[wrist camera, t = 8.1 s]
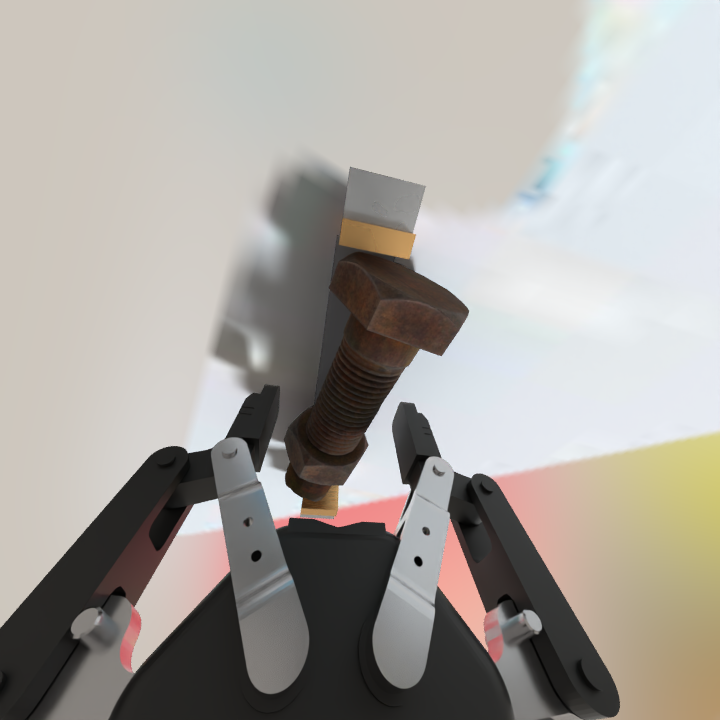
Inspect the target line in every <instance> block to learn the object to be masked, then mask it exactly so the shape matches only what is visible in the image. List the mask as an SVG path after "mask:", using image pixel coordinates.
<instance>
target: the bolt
mask: <svg viewBox="0 0 720 720" xmlns="http://www.w3.org/2000/svg"><path fill="white" fill-rule="evenodd" d="M329 289H330V290H331V292H332V293H333V294H334V295H335V296H336V297H337V298H338V299H339V300H340V301H341V302H342V303H343V305H344V306H345V307H346V308H347V309H348V310H349V311H350V312H351V314H350V316H349V319H348V321H347V324H346V326H345V328H344V332H343V333H344V336H343V339H342V341H341V345H340V346H339V348H338V351H337V352H336V356H335V358H334V360H333V362H332V365H331V367H330V369H329V371H328V374H327V376H326V378H325V381H324V383H323V385H322V388H321V391H320V392H319V395H318V397H317V400H316V403H315V405H314V406H312V407H310V408H308V409H307V410H306V411H304V412H303V413H302V414H301V415H300V416H299V417H298V418H297V419H296V420H295V421H294V422H293V423H292V424H291V425H290V426H289V427H288V430H287V433H286V435H285V438H284V441H285V446H286V450H287V453H288V457H289V460H290V464H289V466H288V468H287V470H288V471H287V473H286V474H285V482H286V486H288V487H289V488H291V490H292V491H293V492H294V493H296V494H297V495H299V496H300V497H303V498H306V499H308V500H311V501H315V502H317V501H319V500H321V499H322V498H324V497H325V495H326V493H328V491H329V489H330V488H331V486H337V485H344V483H345V482H346V480H347V479H348V477H349V476H350V474H351V472H352V471H353V469H354V468H355V466H356V465H357V463H358V462H359V460H360V459H361V457H362V455H363V454H364V452H365V451H366V449H367V447H368V446H369V445H368V443H367V440H366V437H365V434H364V433H365V432H366V430H367V428H368V427H369V425H370V424H371V422H372V420H373V419H374V417H375V415H376V414H377V412H378V411H379V409H380V406H381V404H382V403H383V401H384V399H385V398H386V397H387V395H388V394H389V393H390V390H391V389H392V388H393V386H394V384H395V383H396V382H397V380H398V378H399V377H400V375H401V373H402V372H403V371H404V369H405V367H407V366H408V365H409V364H410V363H411V362H412V360H413V359H414V357H415V355H416V354H417V352H418V351H419V349H422V350H425V351H428V352H431V353H434V354H437V355H440V356H442V355H443V353H444V352H445V350H446V349H447V347H448V346H449V344H450V343H451V342H452V340H453V339H454V337H455V336H456V334H457V333H458V331H459V330H460V328H461V327H462V325H463V323H464V322H465V320H466V318H467V316H468V313H469V310H468V308H467V307H466V306H465V305H464V304H463V303H462V302H461V301H460V300H459V299H458V298H457V297H456V296H455V295H453V294H452V293H451V292H450V291H448V290H447V289H445V288H443V287H442V286H440V285H438V284H436V283H435V282H433V281H431V280H429V279H428V278H426V277H424V276H422V275H420V274H418V273H416V272H414V271H412V270H410V269H408V268H406V267H404V266H403V265H401V264H398V263H395V262H392V261H389V260H386V259H384V258H381V257H378V256H374V255H371V254H367V253H363V252H360V251H359V252H354V253H352V254H349V255H347V256H346V257H344V258H343V259H341V260H340V261H338V264H337V267H336V269H335V272H334V275H333V278H332V281H331V283H330V286H329Z"/></svg>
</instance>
